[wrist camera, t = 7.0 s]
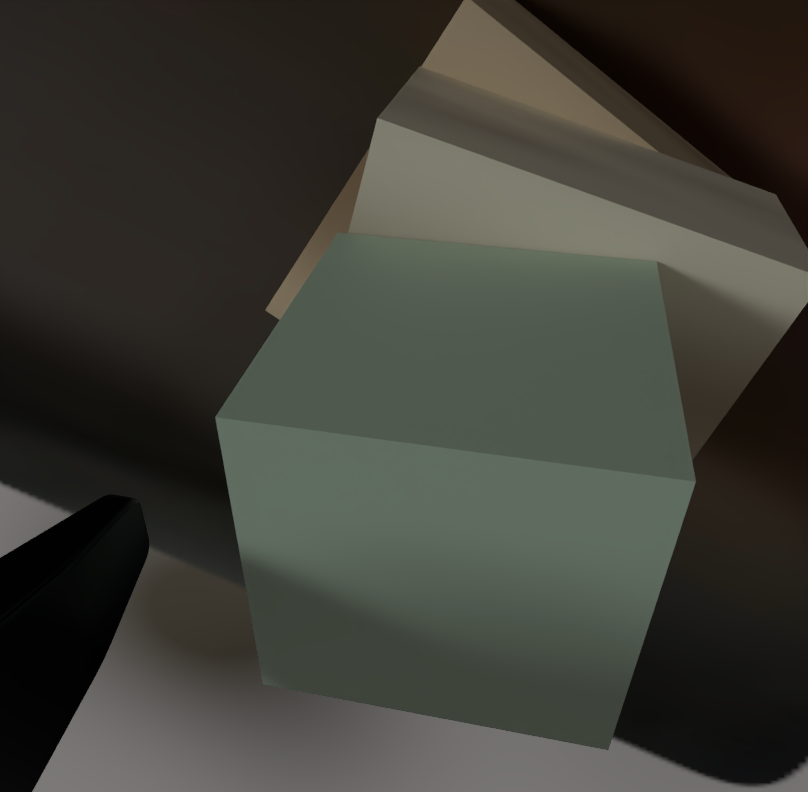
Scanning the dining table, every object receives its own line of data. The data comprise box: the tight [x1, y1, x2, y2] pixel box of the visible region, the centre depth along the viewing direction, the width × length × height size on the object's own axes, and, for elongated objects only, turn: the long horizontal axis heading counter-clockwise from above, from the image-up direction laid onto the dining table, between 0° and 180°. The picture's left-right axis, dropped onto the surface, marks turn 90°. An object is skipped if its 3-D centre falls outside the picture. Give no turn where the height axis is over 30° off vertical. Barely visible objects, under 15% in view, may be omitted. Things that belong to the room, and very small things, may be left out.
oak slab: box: [266, 0, 731, 320], centre depth 17 cm, size 8×8×4 cm
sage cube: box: [215, 232, 696, 750], centre depth 11 cm, size 5×5×5 cm
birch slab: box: [348, 67, 808, 460], centre depth 14 cm, size 7×7×4 cm
